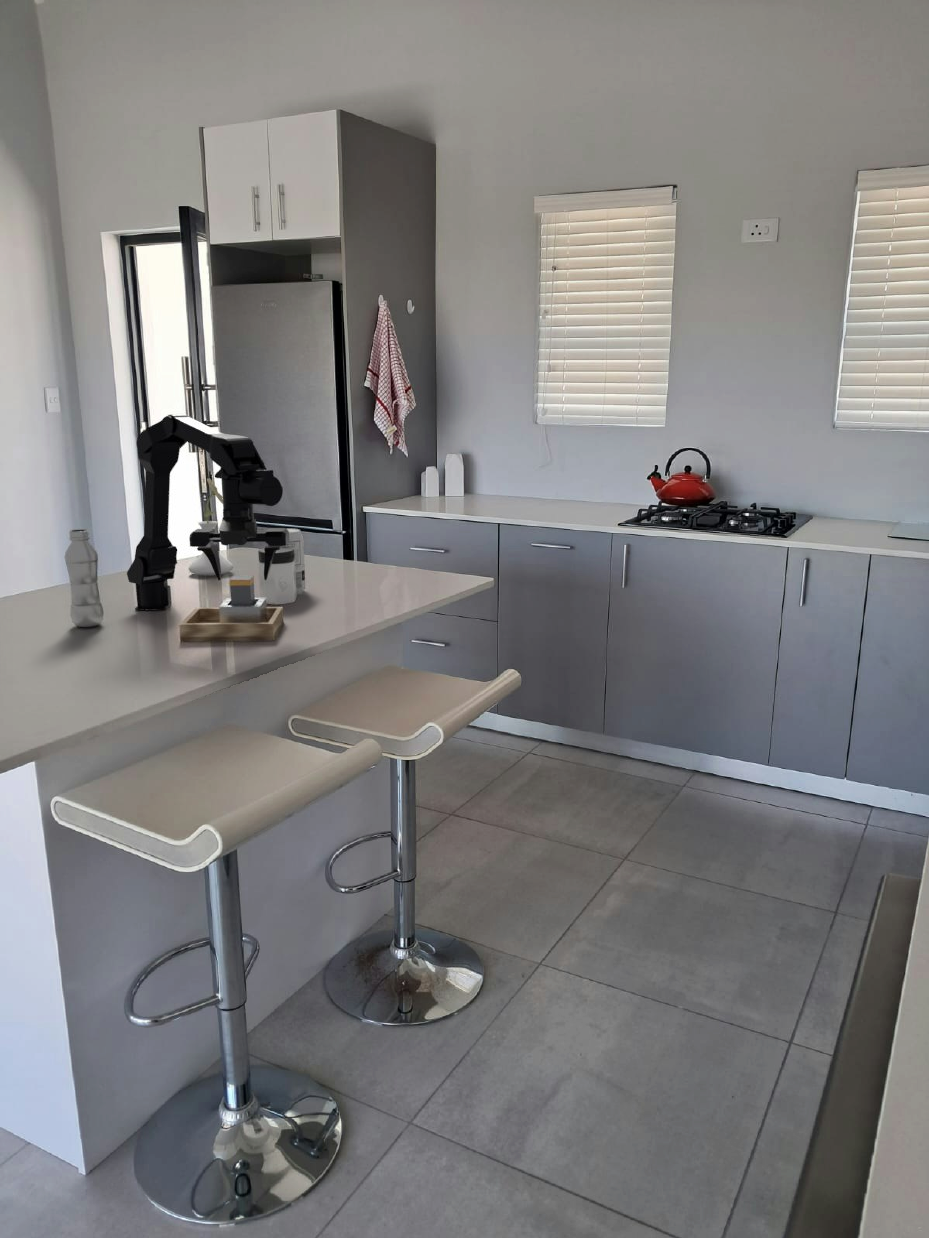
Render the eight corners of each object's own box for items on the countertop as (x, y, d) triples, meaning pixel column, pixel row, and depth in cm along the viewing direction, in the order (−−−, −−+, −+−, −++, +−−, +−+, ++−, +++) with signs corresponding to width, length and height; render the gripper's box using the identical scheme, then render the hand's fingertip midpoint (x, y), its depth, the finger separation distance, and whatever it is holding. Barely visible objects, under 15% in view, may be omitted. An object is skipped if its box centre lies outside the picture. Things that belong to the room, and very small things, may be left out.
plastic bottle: (73, 631, 188) (63, 533, 183) (70, 624, 193) (60, 529, 188) (107, 628, 191) (97, 531, 186) (102, 620, 196) (93, 527, 191)
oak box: (180, 641, 180) (179, 624, 180) (196, 623, 194) (195, 607, 193) (273, 641, 181) (272, 623, 181) (283, 623, 195) (282, 606, 194)
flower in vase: (227, 578, 239) (221, 481, 232) (183, 578, 239) (176, 481, 232) (239, 569, 251) (234, 476, 245) (198, 568, 251) (191, 476, 245)
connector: (231, 619, 186) (229, 580, 184) (235, 614, 190) (233, 575, 188) (252, 618, 186) (250, 579, 184) (255, 613, 190) (253, 575, 188)
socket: (221, 636, 185) (219, 606, 183) (228, 626, 192) (227, 597, 191) (261, 635, 185) (259, 606, 184) (267, 625, 193) (266, 597, 191)
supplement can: (264, 594, 222) (261, 532, 218) (283, 587, 229) (280, 527, 225) (293, 597, 219) (290, 534, 215) (311, 590, 226) (309, 529, 222)
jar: (267, 606, 209) (264, 554, 206) (253, 599, 216) (251, 548, 213) (303, 601, 214) (301, 550, 211) (289, 595, 221) (287, 545, 218)
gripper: (179, 507, 174) (185, 589, 178) (279, 507, 175) (283, 587, 179) (193, 500, 185) (199, 577, 189) (287, 500, 186) (291, 576, 189)
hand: (242, 579), depth 186 cm, fingers open, 9 cm apart
